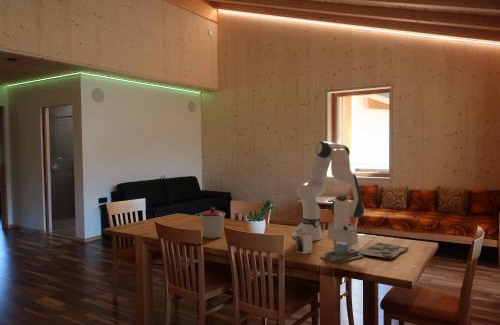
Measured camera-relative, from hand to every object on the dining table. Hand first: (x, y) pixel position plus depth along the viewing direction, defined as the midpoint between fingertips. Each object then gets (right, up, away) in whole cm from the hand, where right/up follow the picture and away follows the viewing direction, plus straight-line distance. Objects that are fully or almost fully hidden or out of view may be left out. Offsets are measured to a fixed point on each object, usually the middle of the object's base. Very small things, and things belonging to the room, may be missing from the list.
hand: (342, 249), depth 224 cm
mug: (-19, -5, +14) cm, 24 cm away
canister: (-79, -4, +54) cm, 96 cm away
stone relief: (+27, -5, +10) cm, 29 cm away
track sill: (0, -5, 0) cm, 5 cm away
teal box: (0, -4, 0) cm, 4 cm away
